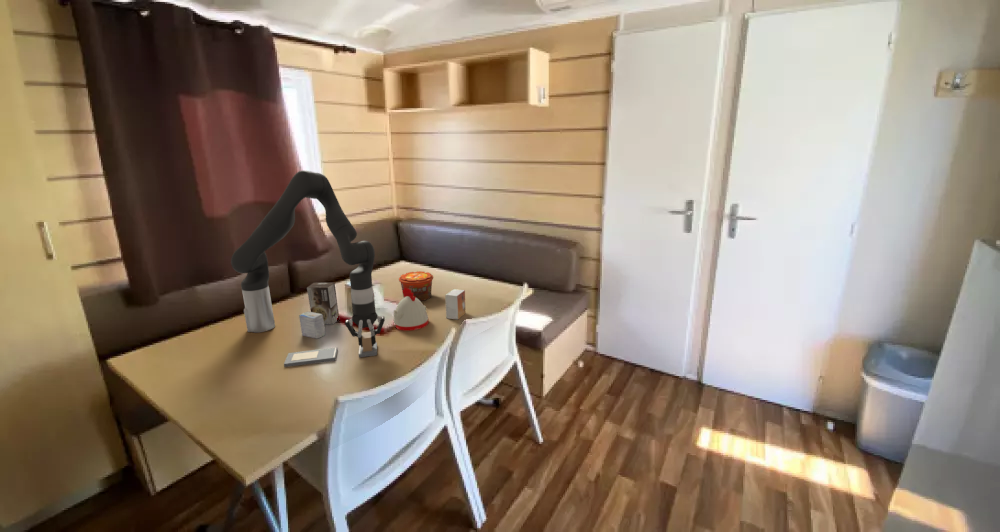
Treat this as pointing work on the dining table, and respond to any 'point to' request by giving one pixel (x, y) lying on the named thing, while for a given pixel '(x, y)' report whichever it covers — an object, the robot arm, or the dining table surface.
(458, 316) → the small box
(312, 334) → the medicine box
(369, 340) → the stub
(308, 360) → the ticket
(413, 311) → the kitchen timer
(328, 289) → the coffee box
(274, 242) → the robot arm
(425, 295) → the food container
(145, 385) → the dining table surface
